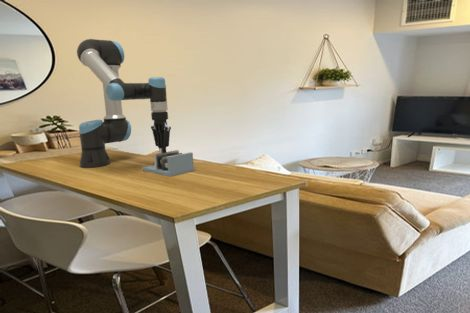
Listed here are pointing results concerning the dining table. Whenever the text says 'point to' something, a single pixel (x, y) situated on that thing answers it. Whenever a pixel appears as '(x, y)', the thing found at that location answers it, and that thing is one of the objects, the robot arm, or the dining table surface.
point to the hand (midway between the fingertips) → (163, 161)
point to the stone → (165, 162)
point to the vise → (174, 165)
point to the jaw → (160, 155)
